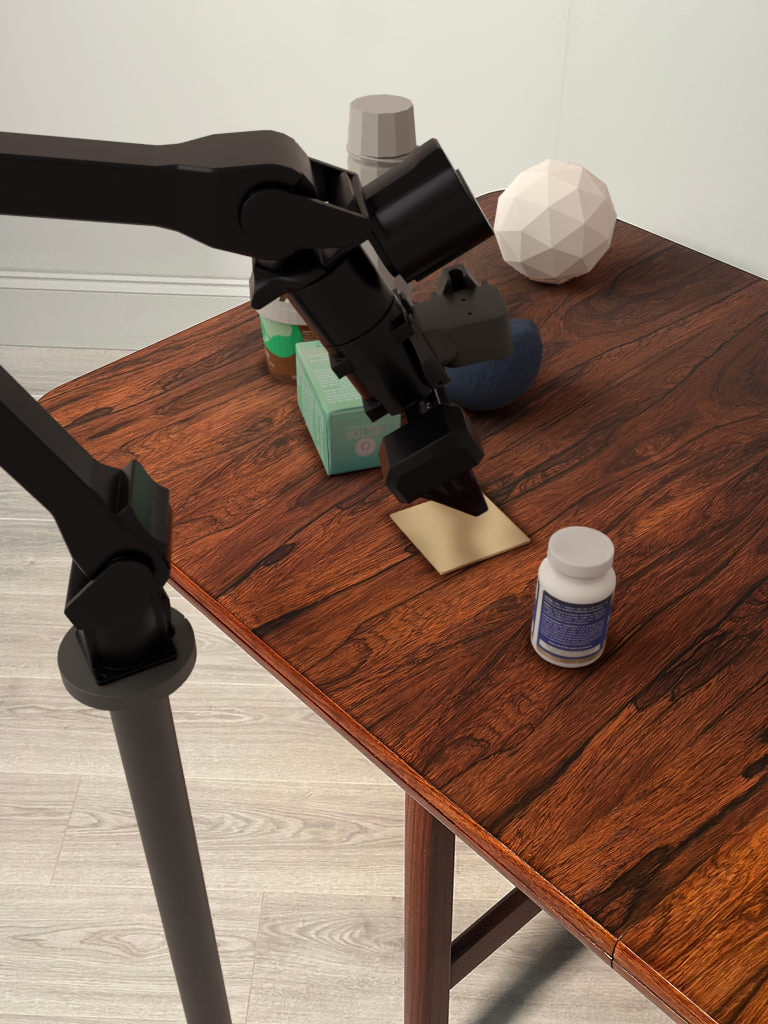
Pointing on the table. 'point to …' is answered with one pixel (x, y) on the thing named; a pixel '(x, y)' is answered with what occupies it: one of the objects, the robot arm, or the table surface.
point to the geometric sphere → (554, 221)
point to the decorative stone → (499, 372)
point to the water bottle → (380, 151)
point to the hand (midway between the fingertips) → (469, 473)
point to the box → (337, 414)
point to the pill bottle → (574, 597)
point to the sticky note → (458, 534)
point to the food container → (283, 337)
